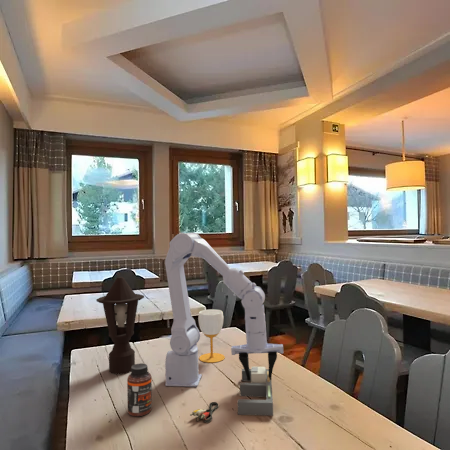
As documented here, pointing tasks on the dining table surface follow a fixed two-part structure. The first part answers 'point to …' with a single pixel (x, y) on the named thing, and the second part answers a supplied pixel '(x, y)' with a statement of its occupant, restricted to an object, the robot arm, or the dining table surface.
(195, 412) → the composite cable
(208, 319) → the cup
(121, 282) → the lantern
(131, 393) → the supplement bottle
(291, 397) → the dining table surface
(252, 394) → the socket panel
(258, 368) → the plug
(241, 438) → the dining table surface
